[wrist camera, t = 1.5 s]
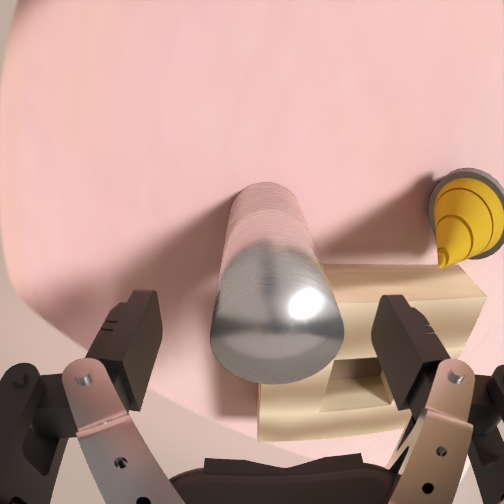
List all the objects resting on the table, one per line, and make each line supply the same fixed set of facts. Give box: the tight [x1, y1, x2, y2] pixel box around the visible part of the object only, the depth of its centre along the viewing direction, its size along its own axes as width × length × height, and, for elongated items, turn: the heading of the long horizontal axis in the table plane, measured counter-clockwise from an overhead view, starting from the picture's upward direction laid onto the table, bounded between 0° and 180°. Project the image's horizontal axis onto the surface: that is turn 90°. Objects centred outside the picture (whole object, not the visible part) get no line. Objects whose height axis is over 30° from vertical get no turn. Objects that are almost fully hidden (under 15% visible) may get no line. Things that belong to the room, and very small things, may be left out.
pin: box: [210, 182, 344, 385], centre depth 14 cm, size 4×4×10 cm
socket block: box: [257, 264, 487, 442], centre depth 21 cm, size 14×14×4 cm
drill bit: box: [428, 168, 504, 269], centre depth 15 cm, size 5×5×10 cm
